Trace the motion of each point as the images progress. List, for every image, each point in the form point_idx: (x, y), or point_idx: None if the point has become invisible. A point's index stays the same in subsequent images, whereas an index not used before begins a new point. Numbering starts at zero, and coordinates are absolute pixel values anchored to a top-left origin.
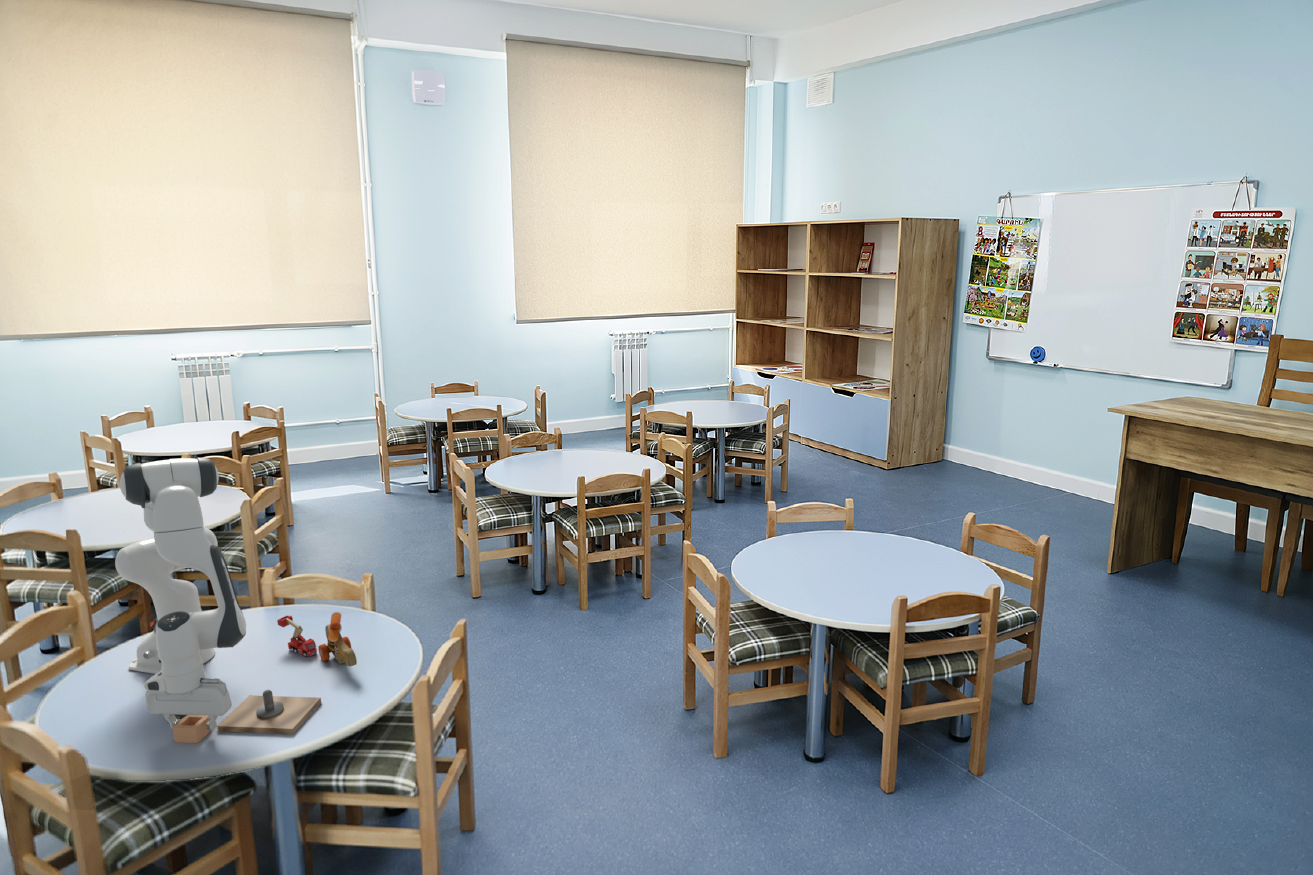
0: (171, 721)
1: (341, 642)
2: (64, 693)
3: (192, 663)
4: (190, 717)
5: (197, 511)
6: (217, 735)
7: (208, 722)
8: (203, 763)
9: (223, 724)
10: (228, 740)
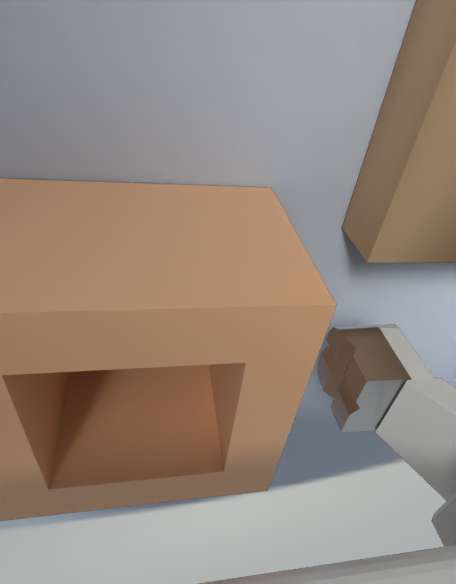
0: None
1: None
2: None
3: None
4: (21, 362)
5: None
6: (355, 279)
7: (360, 411)
8: (356, 460)
9: (431, 235)
10: (452, 321)
